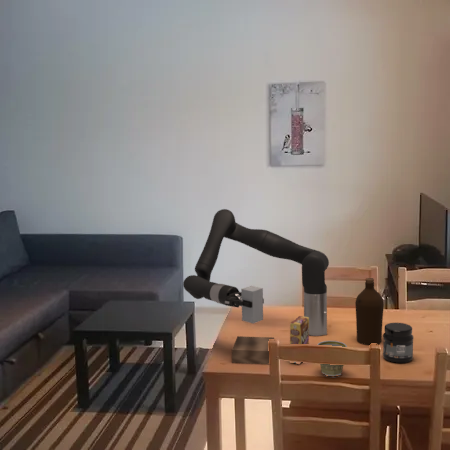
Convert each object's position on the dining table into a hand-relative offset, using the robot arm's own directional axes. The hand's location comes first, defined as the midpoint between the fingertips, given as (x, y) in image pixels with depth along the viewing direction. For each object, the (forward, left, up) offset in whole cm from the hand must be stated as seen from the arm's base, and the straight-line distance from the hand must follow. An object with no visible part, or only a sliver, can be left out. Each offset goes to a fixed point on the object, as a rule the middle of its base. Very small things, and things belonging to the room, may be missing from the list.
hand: (257, 303), depth 221 cm
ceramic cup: (-28, +12, -21) cm, 37 cm away
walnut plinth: (+2, -1, -21) cm, 21 cm away
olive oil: (-41, -21, -21) cm, 51 cm away
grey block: (+2, -1, -7) cm, 7 cm away
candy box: (-15, +1, -21) cm, 26 cm away
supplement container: (-50, -4, -21) cm, 55 cm away
